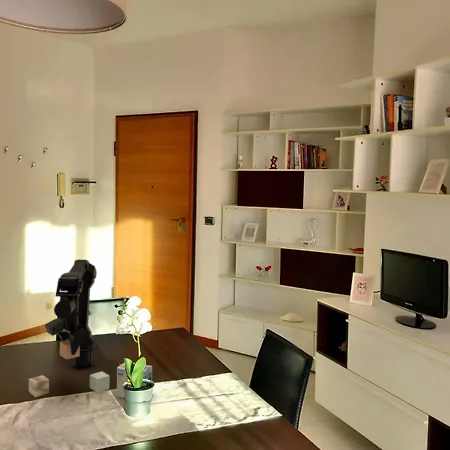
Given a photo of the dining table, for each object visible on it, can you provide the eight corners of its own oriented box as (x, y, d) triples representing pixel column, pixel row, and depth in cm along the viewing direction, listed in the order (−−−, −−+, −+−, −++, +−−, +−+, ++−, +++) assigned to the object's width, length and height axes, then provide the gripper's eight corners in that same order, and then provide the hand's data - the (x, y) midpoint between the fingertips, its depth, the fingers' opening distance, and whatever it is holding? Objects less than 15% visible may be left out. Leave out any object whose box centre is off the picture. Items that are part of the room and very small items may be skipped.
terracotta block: (72, 352, 191) (72, 338, 190) (79, 356, 187) (79, 342, 187) (59, 355, 188) (59, 341, 187) (66, 359, 184) (66, 345, 183)
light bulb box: (152, 394, 186) (153, 365, 185) (143, 402, 180) (143, 372, 178) (125, 389, 189) (126, 360, 188) (115, 397, 183) (116, 367, 182)
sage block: (102, 384, 193) (102, 371, 192) (109, 389, 189) (109, 375, 189) (89, 388, 190) (89, 374, 189) (96, 392, 186) (97, 379, 185)
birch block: (42, 388, 188) (42, 375, 187) (49, 393, 184) (49, 379, 183) (28, 392, 184) (28, 378, 184) (35, 397, 181) (35, 383, 180)
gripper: (36, 307, 187) (36, 350, 188) (61, 320, 173) (60, 366, 175) (65, 303, 194) (65, 344, 196) (91, 314, 181) (90, 358, 183)
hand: (69, 352), depth 187 cm, fingers closed on terracotta block, 5 cm apart
